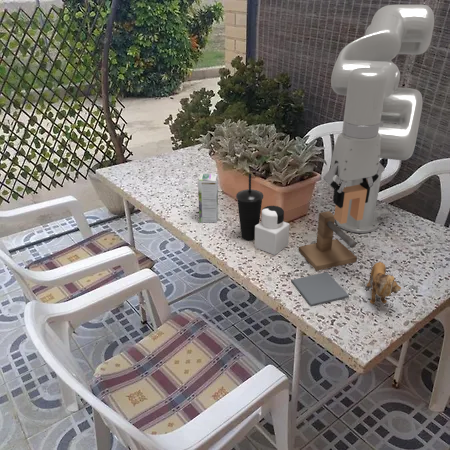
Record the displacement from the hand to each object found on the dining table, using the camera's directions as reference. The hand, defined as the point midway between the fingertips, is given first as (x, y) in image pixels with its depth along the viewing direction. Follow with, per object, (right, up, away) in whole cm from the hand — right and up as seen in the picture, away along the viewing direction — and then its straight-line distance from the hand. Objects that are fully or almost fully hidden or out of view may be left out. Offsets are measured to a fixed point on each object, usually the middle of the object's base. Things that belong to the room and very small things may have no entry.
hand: (350, 202), depth 100 cm
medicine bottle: (-17, -12, +20) cm, 29 cm away
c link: (0, -4, +2) cm, 5 cm away
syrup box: (-35, -4, +35) cm, 50 cm away
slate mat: (-7, -21, +3) cm, 22 cm away
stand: (-1, -15, +13) cm, 20 cm away
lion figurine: (+7, -22, +1) cm, 23 cm away
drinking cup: (-23, -9, +25) cm, 35 cm away
